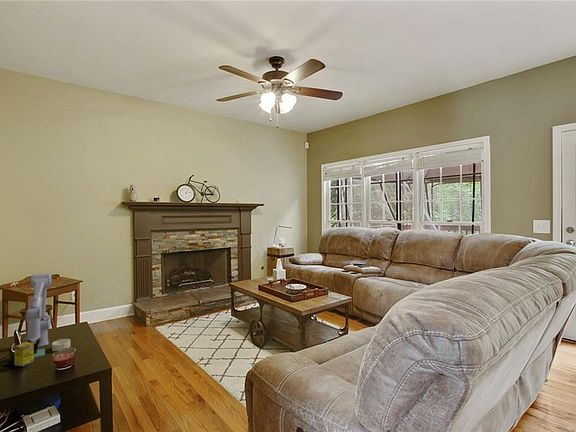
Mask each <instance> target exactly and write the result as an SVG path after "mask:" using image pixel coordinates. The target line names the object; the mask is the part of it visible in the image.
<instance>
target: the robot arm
mask: <svg viewBox="0 0 576 432" xmlns="http://www.w3.org/2000/svg"><path fill="white" fill-rule="evenodd" d="M30 284H31V286H32V288H33V295H32V297H31V298H30V301H29V305H28V309H27V310H26V312H25V318H26V322H27V336H25V337H24V340H27V342H29V343H34V353H36V352H37V350H38V348H39V347H43V346H48V345H49V344H50V343H49V338H48V337H49V336H48V335H49V333H48V330H49V329H51V325H52V320H51V316H50V315H49V314H47V313H46V309H47V290H48V288H49V287H51V285H52V274H51V273H38V274H31V276H30Z"/></svg>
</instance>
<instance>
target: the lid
mask: <svg viewBox="0 0 576 432" xmlns="http://www.w3.org/2000/svg"><path fill="white" fill-rule="evenodd" d="M45 356H46V350H45V348H41V349H37V352H36V353H34V359H37V358H41V357H45Z"/></svg>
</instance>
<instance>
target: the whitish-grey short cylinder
mask: <svg viewBox="0 0 576 432" xmlns="http://www.w3.org/2000/svg"><path fill="white" fill-rule="evenodd" d="M69 347H70V348H71V339H70V338H61V339H57V340H55V341H53V342H52V343H51V352H54V351H57V350H61V349H65V348H69ZM70 348H69V349H70Z"/></svg>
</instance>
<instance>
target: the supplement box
mask: <svg viewBox="0 0 576 432" xmlns="http://www.w3.org/2000/svg"><path fill="white" fill-rule="evenodd" d="M34 359H35V358H34V343H29V342H28V341H25V342H23V343H20V344H18V345H15V346H14V365H13V366H14V367H17V368H25V367H26V366H29V365H31V364H34Z"/></svg>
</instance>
